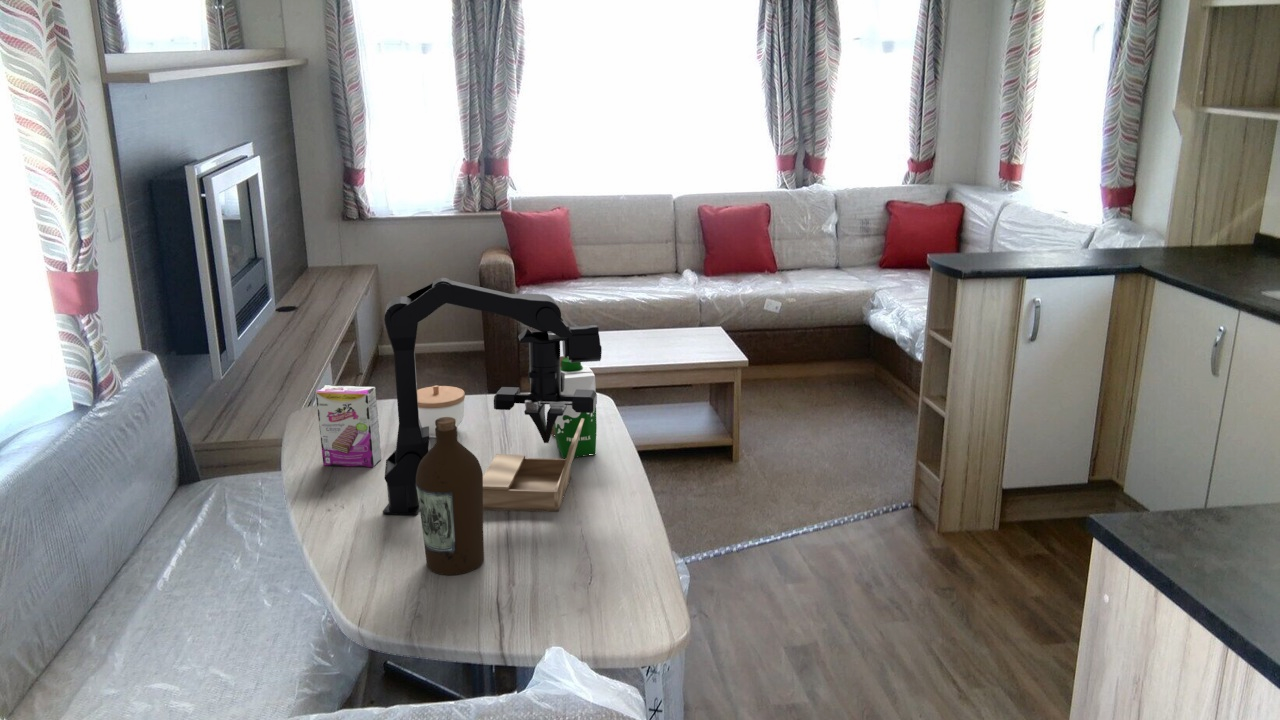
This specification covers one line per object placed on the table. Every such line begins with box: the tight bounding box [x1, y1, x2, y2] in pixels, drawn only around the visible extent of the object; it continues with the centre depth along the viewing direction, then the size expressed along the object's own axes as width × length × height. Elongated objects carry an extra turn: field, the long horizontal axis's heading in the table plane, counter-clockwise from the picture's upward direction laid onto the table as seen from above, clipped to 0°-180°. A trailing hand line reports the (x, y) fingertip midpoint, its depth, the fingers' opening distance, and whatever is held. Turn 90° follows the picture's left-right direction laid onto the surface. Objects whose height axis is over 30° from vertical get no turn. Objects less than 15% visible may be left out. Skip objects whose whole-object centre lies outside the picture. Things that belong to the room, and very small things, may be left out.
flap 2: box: [558, 418, 584, 492], centre depth 181 cm, size 16×9×1 cm
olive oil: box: [416, 417, 485, 576], centre depth 154 cm, size 11×11×25 cm
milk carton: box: [554, 357, 598, 459], centre depth 202 cm, size 9×9×20 cm
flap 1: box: [483, 453, 526, 490], centre depth 183 cm, size 16×6×1 cm, turn 175°
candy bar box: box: [315, 384, 383, 468], centre depth 197 cm, size 11×5×16 cm, turn 84°
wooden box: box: [483, 457, 572, 512], centre depth 184 cm, size 16×15×4 cm
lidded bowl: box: [417, 385, 466, 439], centre depth 215 cm, size 13×13×11 cm
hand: (546, 442), depth 181 cm, fingers closed
